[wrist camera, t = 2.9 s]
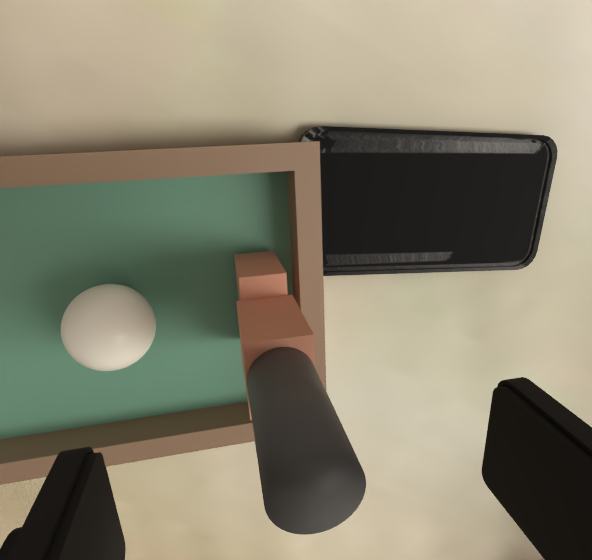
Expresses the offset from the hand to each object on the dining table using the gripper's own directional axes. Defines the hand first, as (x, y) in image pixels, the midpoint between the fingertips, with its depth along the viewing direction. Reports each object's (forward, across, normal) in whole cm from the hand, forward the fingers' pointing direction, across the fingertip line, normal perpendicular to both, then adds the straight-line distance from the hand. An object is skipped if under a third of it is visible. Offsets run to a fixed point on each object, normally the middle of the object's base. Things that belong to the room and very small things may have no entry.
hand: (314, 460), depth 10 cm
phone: (+15, -10, -3) cm, 18 cm away
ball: (+11, +7, +1) cm, 13 cm away
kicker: (+12, 0, +1) cm, 13 cm away
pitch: (+14, +8, +1) cm, 16 cm away
